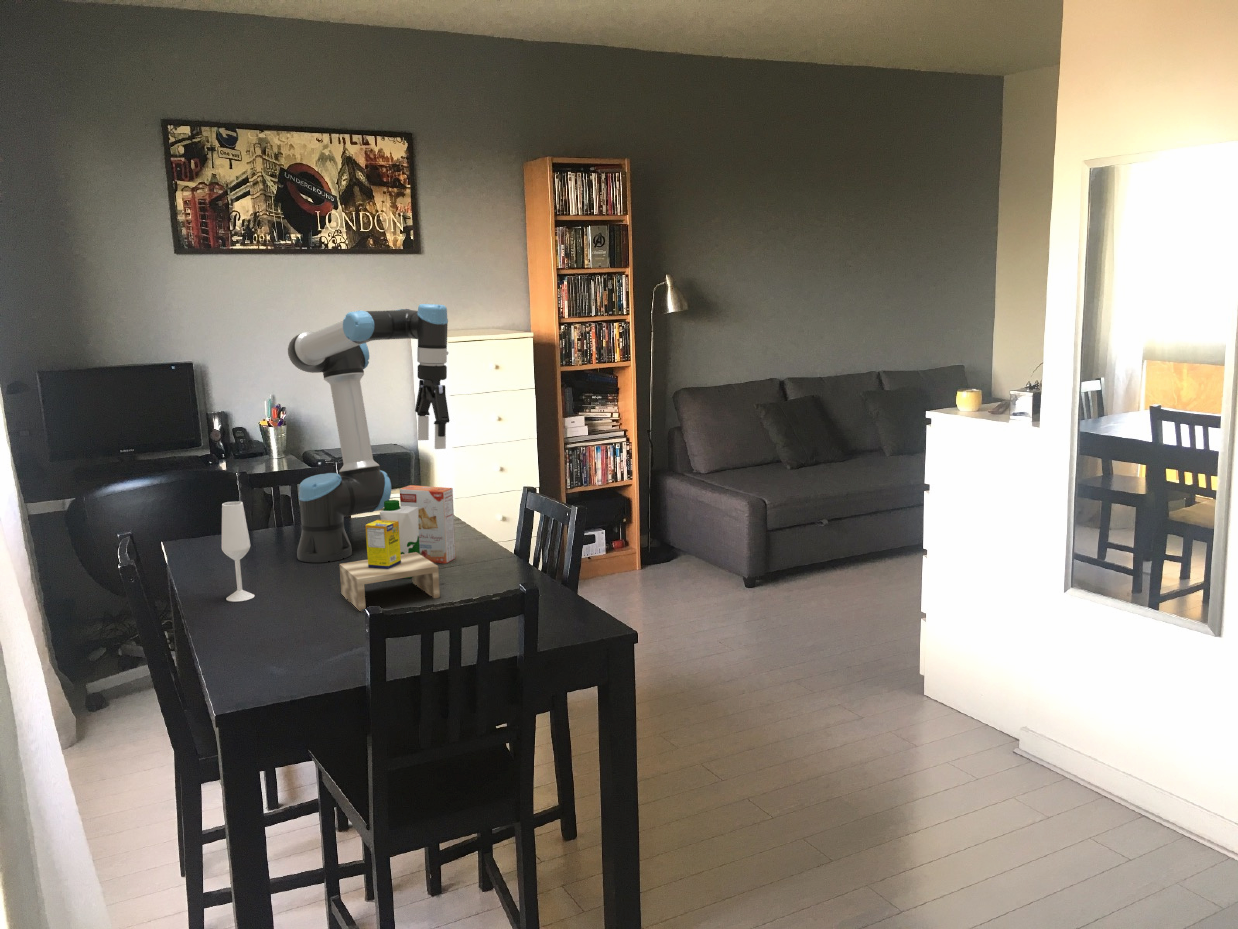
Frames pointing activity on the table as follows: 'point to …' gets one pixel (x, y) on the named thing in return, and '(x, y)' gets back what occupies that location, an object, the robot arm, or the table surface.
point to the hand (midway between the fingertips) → (431, 444)
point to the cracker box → (433, 520)
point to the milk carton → (404, 524)
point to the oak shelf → (388, 576)
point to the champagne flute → (235, 542)
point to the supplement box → (383, 544)
